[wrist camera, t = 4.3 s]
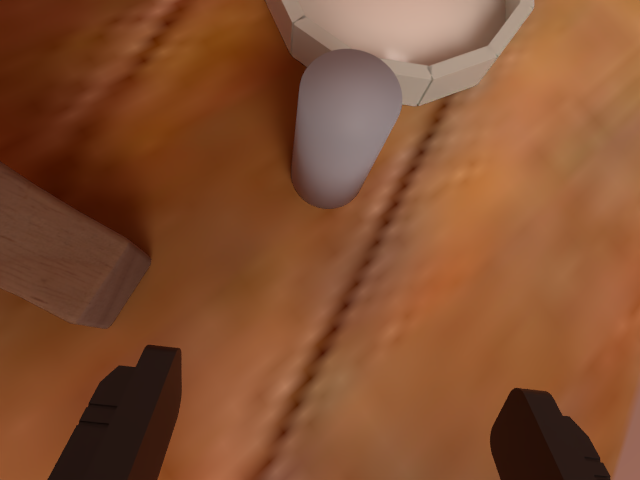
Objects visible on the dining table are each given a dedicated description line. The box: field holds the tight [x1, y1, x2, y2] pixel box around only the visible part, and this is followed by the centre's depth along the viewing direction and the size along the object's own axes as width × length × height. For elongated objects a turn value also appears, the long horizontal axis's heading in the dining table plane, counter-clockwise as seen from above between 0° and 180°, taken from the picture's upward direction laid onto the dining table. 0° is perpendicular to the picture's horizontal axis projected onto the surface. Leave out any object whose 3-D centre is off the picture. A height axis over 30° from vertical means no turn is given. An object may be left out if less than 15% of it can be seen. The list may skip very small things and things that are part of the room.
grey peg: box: [291, 49, 402, 209], centre depth 24 cm, size 4×4×9 cm
